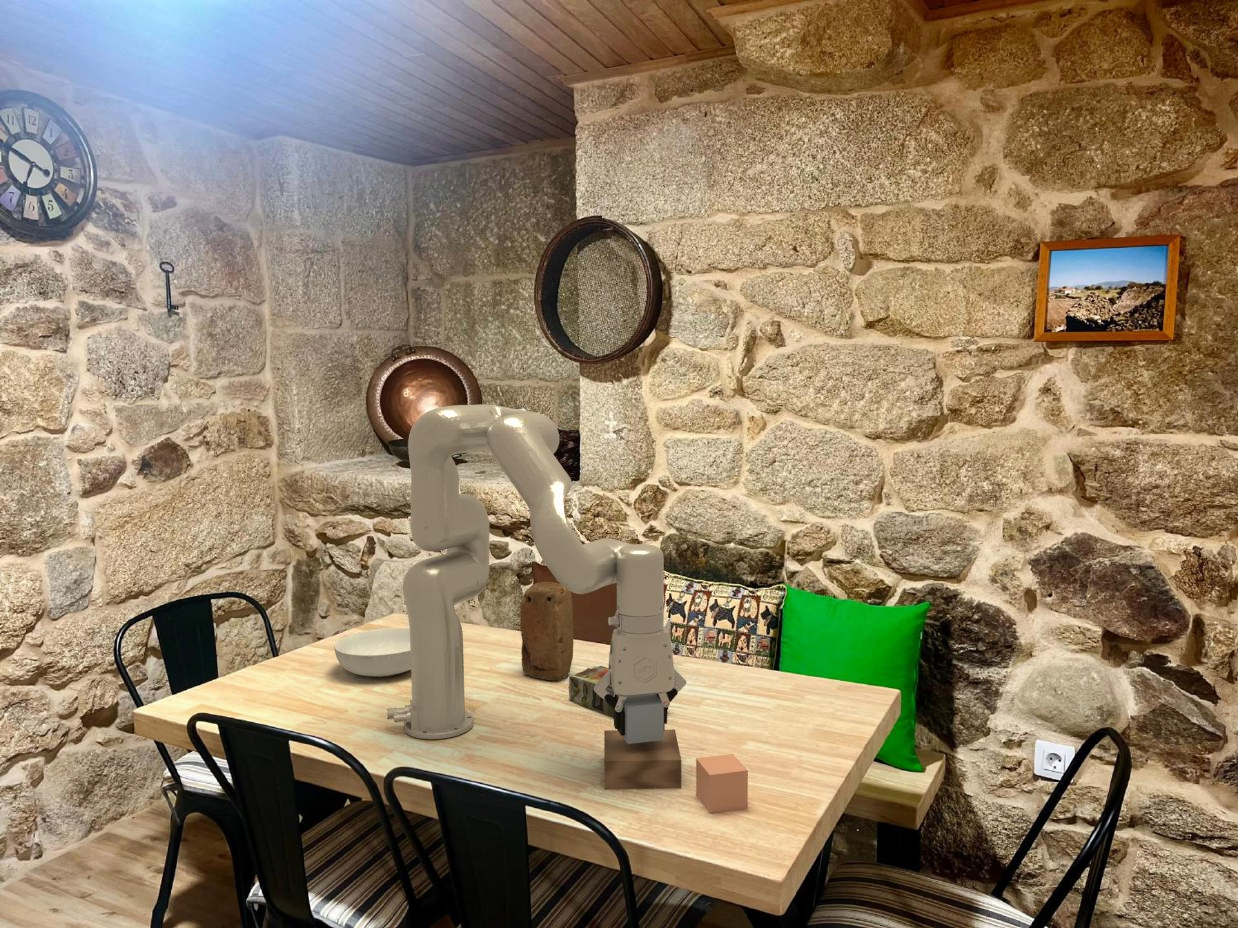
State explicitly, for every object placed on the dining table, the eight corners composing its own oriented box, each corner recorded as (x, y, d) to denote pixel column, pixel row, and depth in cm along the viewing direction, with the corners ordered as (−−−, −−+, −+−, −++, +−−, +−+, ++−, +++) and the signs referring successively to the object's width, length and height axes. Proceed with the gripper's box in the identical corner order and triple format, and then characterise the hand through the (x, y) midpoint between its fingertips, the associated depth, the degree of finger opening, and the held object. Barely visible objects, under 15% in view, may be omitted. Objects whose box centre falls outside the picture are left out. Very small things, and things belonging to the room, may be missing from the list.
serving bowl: (390, 650, 213) (389, 622, 212) (452, 666, 201) (451, 636, 200) (315, 674, 196) (314, 643, 195) (377, 693, 184) (376, 660, 183)
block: (576, 673, 195) (575, 583, 193) (560, 684, 188) (558, 590, 186) (534, 666, 200) (532, 578, 198) (516, 677, 193) (514, 585, 191)
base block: (604, 791, 140) (604, 760, 140) (604, 758, 152) (604, 730, 152) (681, 790, 141) (681, 759, 140) (674, 757, 153) (674, 729, 152)
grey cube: (627, 743, 142) (627, 707, 142) (618, 729, 148) (618, 694, 147) (663, 739, 144) (663, 703, 143) (653, 725, 149) (653, 690, 149)
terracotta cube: (709, 813, 132) (709, 774, 132) (696, 795, 138) (696, 758, 138) (747, 808, 134) (747, 770, 133) (732, 790, 140) (732, 753, 139)
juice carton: (562, 700, 179) (563, 670, 179) (598, 688, 186) (598, 660, 186) (634, 729, 165) (635, 697, 165) (670, 715, 172) (671, 684, 172)
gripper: (593, 632, 138) (593, 745, 140) (698, 624, 143) (698, 733, 144) (582, 619, 146) (584, 726, 147) (683, 612, 150) (683, 716, 152)
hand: (640, 729), depth 146 cm, fingers closed on grey cube, 5 cm apart
